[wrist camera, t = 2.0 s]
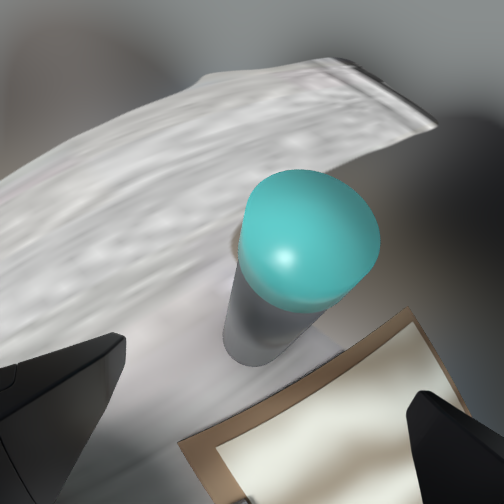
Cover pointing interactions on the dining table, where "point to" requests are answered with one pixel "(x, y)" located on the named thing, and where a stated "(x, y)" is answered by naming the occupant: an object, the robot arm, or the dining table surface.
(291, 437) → the clipboard
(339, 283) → the marker
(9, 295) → the dining table surface
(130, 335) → the dining table surface
